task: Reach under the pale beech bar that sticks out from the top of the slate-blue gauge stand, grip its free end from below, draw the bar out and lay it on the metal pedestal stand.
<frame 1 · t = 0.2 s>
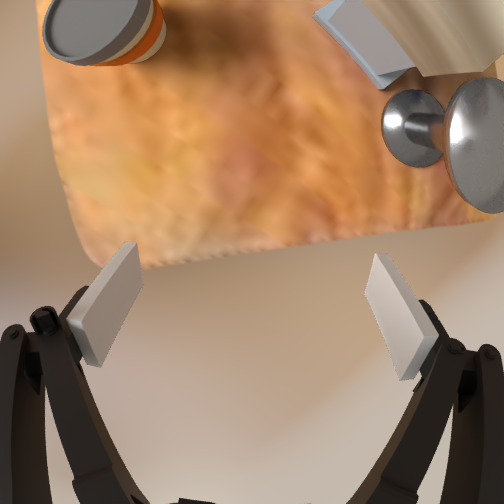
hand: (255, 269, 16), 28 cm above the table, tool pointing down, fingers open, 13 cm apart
metal pedestal stand: (415, 127, 37), on the table
reusable coffee cup: (137, 36, 32), on the table
gauge stand: (376, 30, 30), on the table
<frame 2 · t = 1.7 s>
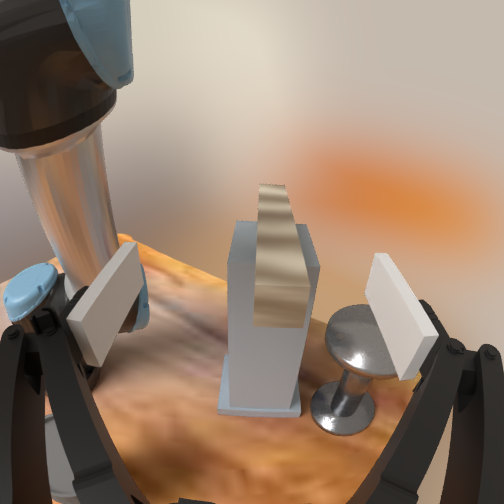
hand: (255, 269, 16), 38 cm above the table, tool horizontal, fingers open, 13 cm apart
metal pedestal stand: (342, 408, 46), on the table
reusable coffee cup: (105, 491, 29), on the table
beech bar: (273, 247, 35), point 30 cm above the table, touching gauge stand
gauge stand: (259, 388, 51), on the table
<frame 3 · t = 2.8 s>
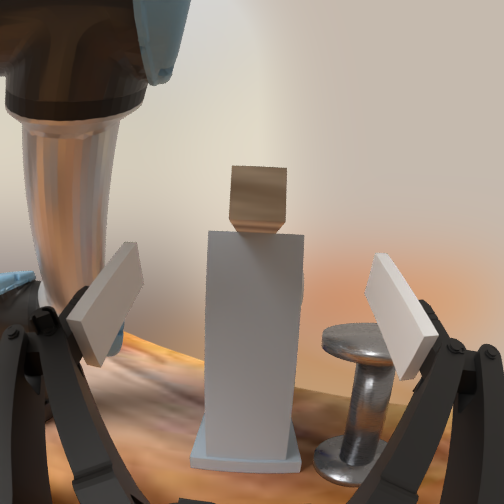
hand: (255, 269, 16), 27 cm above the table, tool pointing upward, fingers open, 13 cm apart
metal pedestal stand: (355, 461, 31), on the table
beech bar: (256, 235, 35), point 30 cm above the table, touching gauge stand
gauge stand: (246, 445, 36), on the table
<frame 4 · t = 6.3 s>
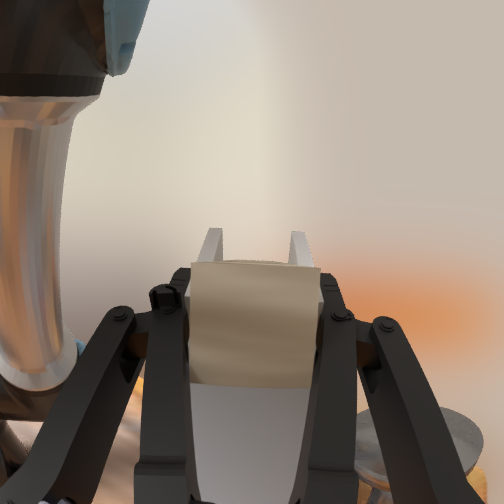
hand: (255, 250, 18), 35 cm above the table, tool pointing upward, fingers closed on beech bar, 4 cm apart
beech bar: (253, 312, 23), point 30 cm above the table, touching gauge stand, gripper
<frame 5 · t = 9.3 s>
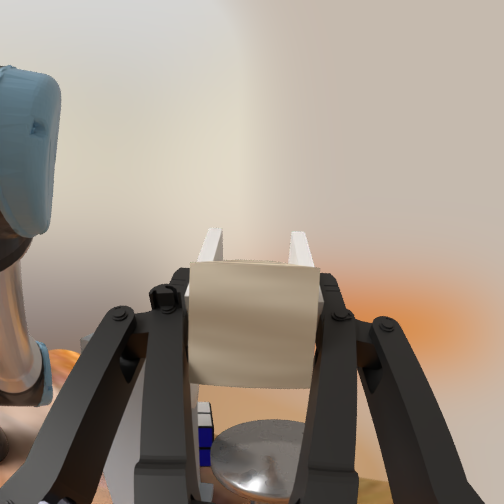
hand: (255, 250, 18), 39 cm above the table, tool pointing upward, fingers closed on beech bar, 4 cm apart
puzzle cube: (187, 453, 48), on the table
beech bar: (252, 312, 23), point 35 cm above the table, touching gripper
when the fingers open (25 cm above the table, at t = 12.6 s): beech bar stays where it is, resting on metal pedestal stand.
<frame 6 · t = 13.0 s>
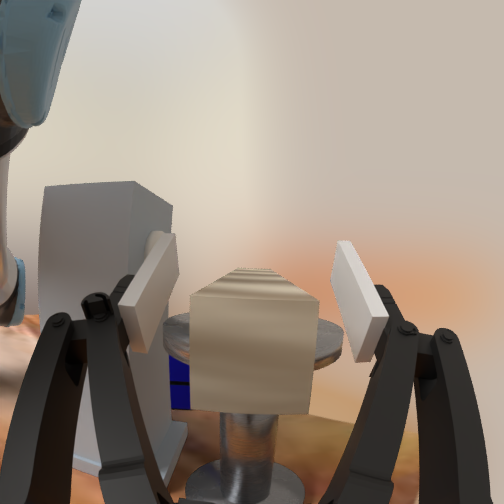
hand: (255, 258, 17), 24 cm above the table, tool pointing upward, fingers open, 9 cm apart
puzzle cube: (165, 397, 45), on the table
metal pedestal stand: (244, 495, 23), on the table
beech bar: (252, 325, 23), point 19 cm above the table, touching metal pedestal stand
gauge stand: (123, 449, 28), on the table
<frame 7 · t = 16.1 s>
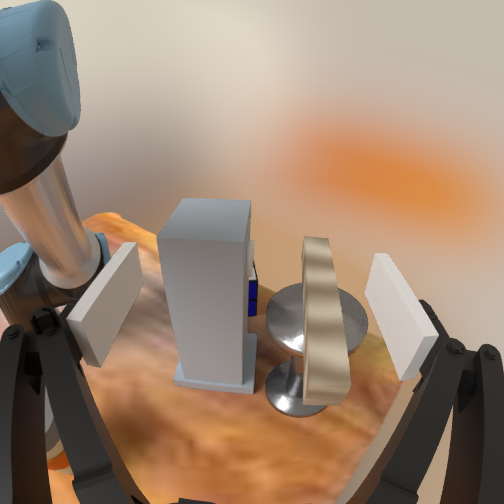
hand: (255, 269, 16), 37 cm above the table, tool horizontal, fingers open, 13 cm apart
puzzle cube: (232, 303, 69), on the table
metal pedestal stand: (298, 389, 49), on the table
reusable coffee cup: (67, 452, 33), on the table
beech bar: (317, 314, 39), point 19 cm above the table, touching metal pedestal stand
gauge stand: (218, 362, 54), on the table
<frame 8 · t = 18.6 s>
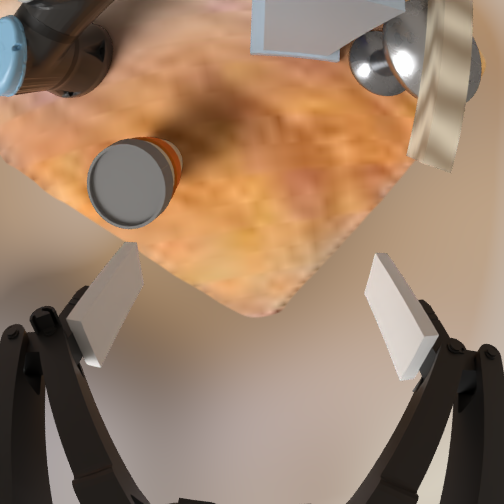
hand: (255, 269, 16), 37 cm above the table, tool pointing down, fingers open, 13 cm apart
metal pedestal stand: (381, 63, 39), on the table
reusable coffee cup: (159, 163, 50), on the table
beech bar: (438, 51, 22), point 19 cm above the table, touching metal pedestal stand
gauge stand: (295, 23, 37), on the table
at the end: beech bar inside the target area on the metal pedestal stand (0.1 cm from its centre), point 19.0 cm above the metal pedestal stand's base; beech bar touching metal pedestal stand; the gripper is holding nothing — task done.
